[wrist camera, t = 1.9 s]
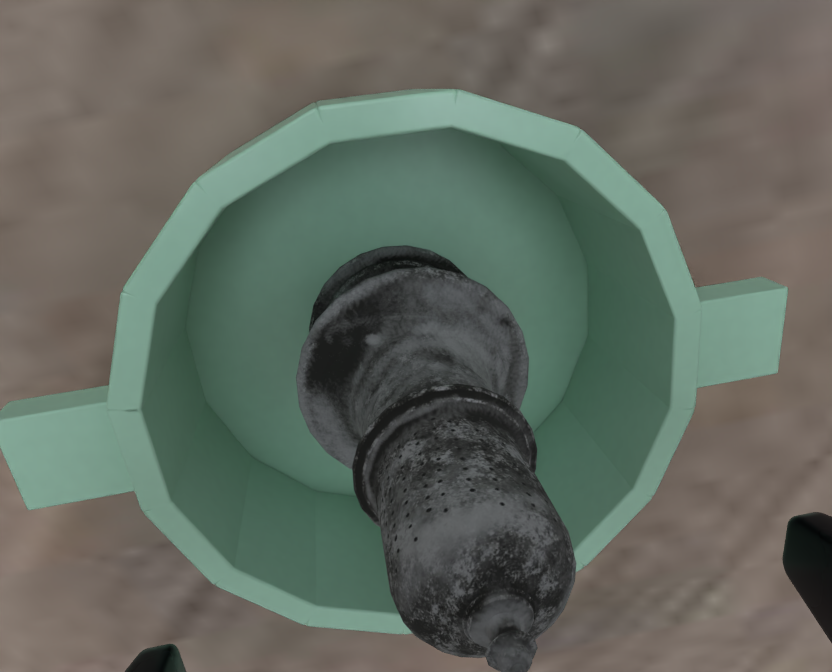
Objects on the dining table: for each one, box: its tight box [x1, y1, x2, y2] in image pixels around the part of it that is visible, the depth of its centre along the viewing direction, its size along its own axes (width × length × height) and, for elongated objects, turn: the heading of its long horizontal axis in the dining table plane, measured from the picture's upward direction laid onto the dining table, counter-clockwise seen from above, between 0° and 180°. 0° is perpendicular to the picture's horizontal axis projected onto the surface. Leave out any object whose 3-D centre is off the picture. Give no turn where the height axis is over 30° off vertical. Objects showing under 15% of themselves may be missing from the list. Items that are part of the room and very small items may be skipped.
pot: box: [0, 89, 788, 634], centre depth 17 cm, size 13×19×5 cm
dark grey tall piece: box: [296, 245, 576, 672], centre depth 13 cm, size 6×6×12 cm
